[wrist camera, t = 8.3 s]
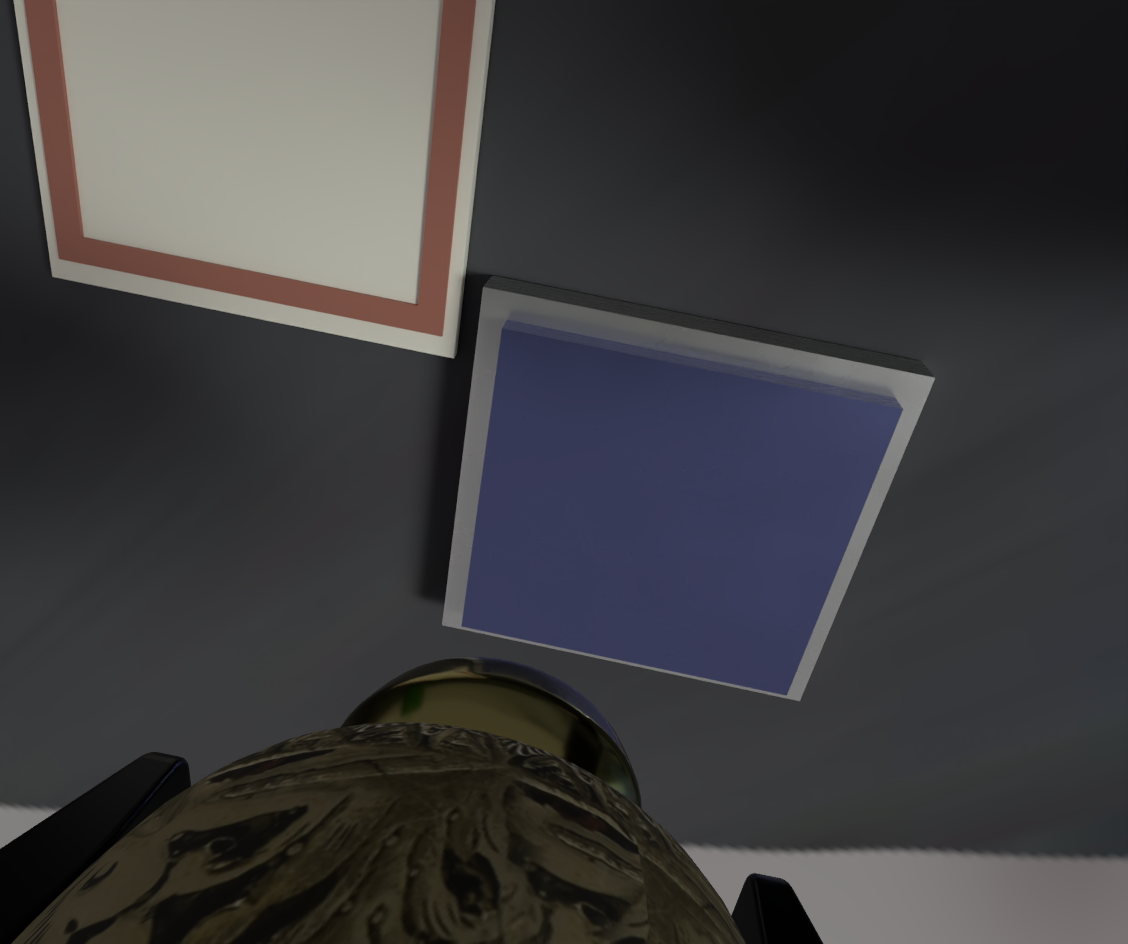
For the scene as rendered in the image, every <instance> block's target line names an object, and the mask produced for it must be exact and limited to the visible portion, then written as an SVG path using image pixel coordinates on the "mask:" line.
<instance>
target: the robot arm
mask: <svg viewBox="0 0 1128 944" xmlns="http://www.w3.org/2000/svg"><path fill="white" fill-rule="evenodd" d="M189 787H191V781H190V773H189V766H188V763H187V761H186V760H185V759H184V758H182V757H179V756H174V755H169V754H164V753H159V752H151V753H147V754H145V755H143V756H141V757H139V758H138V759H136V760H135V761H133V762H132V763H130V764H128V765H127V766H125V767H124V768H122V769H121V770H119V771H118V772H116V773H115V774H113V775H112V776H110V777H109V778H107V779H106V780H104V781H103V782H101V783H100V784H98V785H97V786H95V787H94V788H92V789H90V790H89V791H87V792H86V793H84V794H83V795H81V796H80V797H78V798H77V799H75V800H74V801H72V802H71V803H69V804H68V805H66V806H65V807H63V808H62V809H60V810H59V811H57V812H56V813H54V814H52V815H51V816H50V817H48V818H46V819H45V820H43V821H42V822H40V823H39V824H37V825H36V826H34V827H33V828H31V829H30V830H28V831H27V832H25V833H24V834H22V835H21V836H19V837H18V838H16V839H14V840H13V841H11V842H10V843H9V844H7V845H5V846H4V847H2V848H1V849H0V944H11V943H12V942H13V941H14V940H15V939H16V938H17V937H18V936H19V935H20V934H21V933H22V932H23V931H24V930H25V929H26V928H27V927H28V926H29V925H30V924H31V923H32V922H33V921H34V920H35V919H36V918H37V917H38V916H39V915H40V914H41V913H42V912H43V911H44V910H45V909H46V908H47V907H48V906H49V905H50V904H51V903H52V902H53V901H54V900H55V899H56V898H57V897H58V896H59V895H60V894H61V893H62V892H63V891H65V890H66V889H67V888H68V887H69V886H70V885H71V884H72V883H73V882H74V881H75V880H76V879H77V878H78V877H79V876H80V875H81V874H82V873H83V872H84V871H85V870H86V869H87V868H88V867H89V866H90V865H91V864H92V863H94V862H95V861H96V860H97V859H98V858H99V857H101V856H102V855H103V854H104V853H105V852H107V851H108V850H109V849H110V848H111V847H112V846H114V845H115V844H116V843H117V842H118V841H120V840H121V839H122V838H123V837H124V836H126V835H127V834H128V833H129V832H130V831H131V830H133V829H134V828H135V827H136V826H137V825H139V824H140V823H141V822H142V821H143V820H145V819H146V818H147V817H148V816H149V815H151V814H152V813H153V812H154V811H156V810H157V809H158V808H159V807H161V806H162V805H163V804H164V803H166V802H167V801H169V800H171V799H172V798H174V797H175V796H177V795H178V794H180V793H182V792H183V791H185V790H186V789H188V788H189ZM731 917H732V918H733V920H734V922H735V924H736V926H737V928H738V930H739V932H740V933H741V935H742V937H743V939H744V941H745V943H746V944H823V942H822V941H821V939H820V937H819V935H818V933H817V932H816V930H815V928H814V926H813V924H812V923H811V921H810V919H809V917H808V915H807V914H806V912H805V910H804V908H803V906H802V905H801V903H800V901H799V899H798V897H797V896H796V894H795V892H794V890H793V889H792V887H791V886H790V884H789V883H788V882H786V881H785V880H783V879H781V878H776V877H771V876H766V875H761V874H756V873H753V874H751V875H749V876H748V877H747V879H746V881H745V883H744V885H743V888H742V890H741V893H740V895H739V898H738V900H737V903H736V906H735V908H734V911H733V913H732V916H731Z"/></svg>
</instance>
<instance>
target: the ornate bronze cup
mask: <svg viewBox="0 0 1128 944" xmlns="http://www.w3.org/2000/svg"><path fill="white" fill-rule="evenodd" d="M11 944H746V943H745V941H744V939H743V937H742V935H741V933H740V932H739V930H738V928H737V926H736V924H735V922H734V920H733V918H732V917H731V915H730V913H729V911H728V909H727V908H726V906H725V904H724V902H723V900H722V899H721V898H720V896H719V895H718V894H717V892H716V891H715V889H714V888H713V887H712V885H711V884H710V883H709V881H708V880H707V879H706V877H705V876H704V875H703V873H702V872H701V871H700V869H699V868H698V867H697V866H696V864H695V863H694V862H693V860H692V859H691V858H690V856H689V855H688V854H687V852H686V851H685V850H684V849H683V848H682V847H681V846H680V845H679V844H678V843H677V841H676V840H675V839H674V838H673V837H672V836H671V835H670V834H669V833H668V832H667V831H666V830H665V829H664V828H663V827H662V826H661V825H659V824H658V823H657V822H656V821H655V820H654V819H652V818H651V817H650V816H649V815H648V814H647V813H645V812H644V811H643V810H642V807H641V795H640V791H639V787H638V782H637V779H636V776H635V774H634V771H633V769H632V766H631V763H630V761H629V759H628V756H627V754H626V752H625V749H624V747H623V745H622V743H621V742H620V740H619V738H618V736H617V734H616V733H615V731H614V729H613V728H612V726H611V725H610V724H609V722H608V721H607V719H606V718H605V717H604V716H603V715H602V714H601V712H600V711H599V710H598V709H597V708H596V707H595V706H594V705H593V704H592V703H591V702H590V701H589V700H588V699H586V698H585V697H584V696H583V695H582V694H580V693H579V692H578V691H576V690H575V689H574V688H572V687H571V686H569V685H568V684H566V683H564V682H563V681H561V680H559V679H557V678H555V677H553V676H551V675H549V674H547V673H545V672H543V671H540V670H538V669H535V668H532V667H529V666H526V665H523V664H519V663H516V662H512V661H506V660H501V659H494V658H484V657H461V658H450V659H445V660H439V661H435V662H431V663H428V664H425V665H421V666H419V667H416V668H414V669H412V670H409V671H407V672H405V673H403V674H402V675H400V676H398V677H396V678H395V679H393V680H391V681H389V682H388V683H387V684H385V685H384V686H382V687H381V688H380V689H378V690H377V691H376V692H374V693H373V694H372V695H371V696H369V697H368V698H367V699H365V700H364V701H363V702H362V703H361V704H359V706H358V707H357V708H356V709H355V710H354V711H353V712H352V713H351V714H350V715H349V716H348V717H347V719H346V720H345V721H344V723H343V724H342V726H341V727H340V728H337V729H331V730H325V731H319V732H314V733H310V734H306V735H303V736H299V737H296V738H292V739H288V740H286V741H283V742H281V743H278V744H276V745H273V746H271V747H268V748H266V749H263V750H261V751H259V752H256V753H254V754H251V755H249V756H247V757H244V758H242V759H239V760H237V761H234V762H232V763H230V764H228V765H226V766H224V767H223V768H221V769H219V770H217V771H216V772H214V773H212V774H210V775H209V776H207V777H205V778H204V779H202V780H200V781H199V782H197V783H196V784H194V785H193V786H191V787H189V788H188V789H186V790H185V791H183V792H182V793H180V794H178V795H177V796H175V797H174V798H172V799H171V800H169V801H167V802H166V803H164V804H163V805H162V806H161V807H159V808H158V809H157V810H156V811H154V812H153V813H152V814H151V815H149V816H148V817H147V818H146V819H145V820H143V821H142V822H141V823H140V824H139V825H137V826H136V827H135V828H134V829H133V830H131V831H130V832H129V833H128V834H127V835H126V836H124V837H123V838H122V839H121V840H120V841H118V842H117V843H116V844H115V845H114V846H112V847H111V848H110V849H109V850H108V851H107V852H105V853H104V854H103V855H102V856H101V857H99V858H98V859H97V860H96V861H95V862H94V863H92V864H91V865H90V866H89V867H88V868H87V869H86V870H85V871H84V872H83V873H82V874H81V875H80V876H79V877H78V878H77V879H76V880H75V881H74V882H73V883H72V884H71V885H70V886H69V887H68V888H67V889H66V890H65V891H63V892H62V893H61V894H60V895H59V896H58V897H57V898H56V899H55V900H54V901H53V902H52V903H51V904H50V905H49V906H48V907H47V908H46V909H45V910H44V911H43V912H42V913H41V914H40V915H39V916H38V917H37V918H36V919H35V920H34V921H33V922H32V923H31V924H30V925H29V926H28V927H27V928H26V929H25V930H24V931H23V932H22V933H21V934H20V935H19V936H18V937H17V938H16V939H15V940H14V941H13V942H12V943H11Z"/></svg>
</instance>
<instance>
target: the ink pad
mask: <svg viewBox="0 0 1128 944" xmlns="http://www.w3.org/2000/svg"><path fill="white" fill-rule="evenodd" d="M934 380H935V377H934V376H933V374H932V373H931V372H930V371H929V369H928V368H927V367H926V366H925V364H924V363H923V362H922V361H918V360H913V359H908V358H903V357H898V356H893V355H888V354H883V353H878V352H873V351H868V350H863V349H858V348H853V347H848V346H843V345H838V344H833V343H828V342H823V341H818V340H813V339H808V338H803V337H798V336H793V335H788V334H783V333H778V332H773V331H768V330H763V329H758V328H753V327H748V326H743V325H738V324H733V323H728V322H723V321H718V320H713V319H708V318H703V317H698V316H693V315H688V314H683V313H678V312H673V311H668V310H663V309H658V308H653V307H648V306H643V305H639V304H634V303H629V302H624V301H619V300H614V299H609V298H604V297H599V296H594V295H589V294H584V293H579V292H574V291H569V290H564V289H559V288H554V287H549V286H544V285H539V284H534V283H529V282H524V281H519V280H514V279H509V278H504V277H499V276H494V275H492V276H491V278H490V279H489V280H488V281H487V283H486V284H485V285H484V286H483V291H482V300H481V308H480V316H479V324H478V333H477V341H476V349H475V358H474V366H473V374H472V382H471V391H470V399H469V407H468V415H467V424H466V432H465V440H464V448H463V457H462V465H461V473H460V481H459V490H458V498H457V506H456V514H455V523H454V531H453V539H452V547H451V556H450V564H449V572H448V581H447V589H446V597H445V605H444V614H443V622H442V625H444V626H449V627H454V628H458V629H463V630H468V631H473V632H477V633H482V634H487V635H491V636H496V637H501V638H505V639H510V640H515V641H520V642H524V643H529V644H534V645H538V646H543V647H548V648H552V649H557V650H562V651H567V652H571V653H576V654H581V655H585V656H590V657H595V658H599V659H604V660H609V661H614V662H618V663H623V664H628V665H632V666H637V667H642V668H646V669H651V670H656V671H661V672H665V673H670V674H675V675H679V676H684V677H689V678H693V679H698V680H703V681H708V682H712V683H717V684H722V685H726V686H731V687H736V688H740V689H745V690H750V691H755V692H759V693H764V694H769V695H773V696H778V697H783V698H787V699H792V700H797V701H800V699H801V697H802V694H803V692H804V690H805V687H806V685H807V682H808V680H809V678H810V675H811V673H812V670H813V668H814V666H815V663H816V661H817V659H818V656H819V654H820V651H821V649H822V647H823V644H824V642H825V640H826V637H827V635H828V632H829V630H830V628H831V625H832V623H833V620H834V618H835V616H836V613H837V611H838V609H839V606H840V604H841V601H842V599H843V597H844V594H845V592H846V589H847V587H848V585H849V582H850V580H851V578H852V575H853V573H854V570H855V568H856V566H857V563H858V561H859V558H860V556H861V554H862V551H863V549H864V547H865V544H866V542H867V539H868V537H869V535H870V532H871V530H872V527H873V525H874V523H875V520H876V518H877V516H878V513H879V511H880V508H881V506H882V504H883V501H884V499H885V496H886V494H887V492H888V489H889V487H890V485H891V482H892V480H893V477H894V475H895V473H896V470H897V468H898V465H899V463H900V461H901V458H902V456H903V454H904V451H905V449H906V446H907V444H908V442H909V439H910V437H911V434H912V432H913V430H914V427H915V425H916V423H917V420H918V418H919V415H920V413H921V411H922V408H923V406H924V403H925V401H926V399H927V396H928V394H929V392H930V389H931V387H932V384H933V382H934Z"/></svg>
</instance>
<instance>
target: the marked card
mask: <svg viewBox="0 0 1128 944" xmlns="http://www.w3.org/2000/svg"><path fill="white" fill-rule="evenodd" d="M495 1H496V0H14V7H15V14H16V21H17V28H18V35H19V43H20V50H21V57H22V64H23V71H24V78H25V85H26V93H27V100H28V107H29V114H30V121H31V128H32V135H33V143H34V150H35V157H36V164H37V171H38V178H39V185H40V193H41V200H42V207H43V214H44V221H45V228H46V235H47V242H48V250H49V257H50V264H51V271H52V277H56V278H61V279H66V280H71V281H76V282H81V283H85V284H90V285H95V286H100V287H105V288H110V289H115V290H120V291H125V292H130V293H135V294H139V295H144V296H149V297H154V298H159V299H164V300H169V301H174V302H179V303H184V304H189V305H193V306H198V307H203V308H208V309H213V310H218V311H223V312H228V313H233V314H238V315H243V316H247V317H252V318H257V319H262V320H267V321H272V322H277V323H282V324H287V325H292V326H297V327H301V328H306V329H311V330H316V331H321V332H326V333H331V334H336V335H341V336H346V337H351V338H355V339H360V340H365V341H370V342H375V343H380V344H385V345H390V346H395V347H400V348H405V349H409V350H414V351H419V352H424V353H429V354H434V355H439V356H444V357H449V358H454V357H455V356H456V355H457V347H458V338H459V329H460V320H461V311H462V302H463V293H464V284H465V274H466V265H467V256H468V247H469V238H470V229H471V220H472V211H473V201H474V192H475V183H476V174H477V165H478V156H479V147H480V138H481V128H482V119H483V110H484V101H485V92H486V83H487V74H488V65H489V55H490V46H491V37H492V28H493V19H494V10H495Z"/></svg>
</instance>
